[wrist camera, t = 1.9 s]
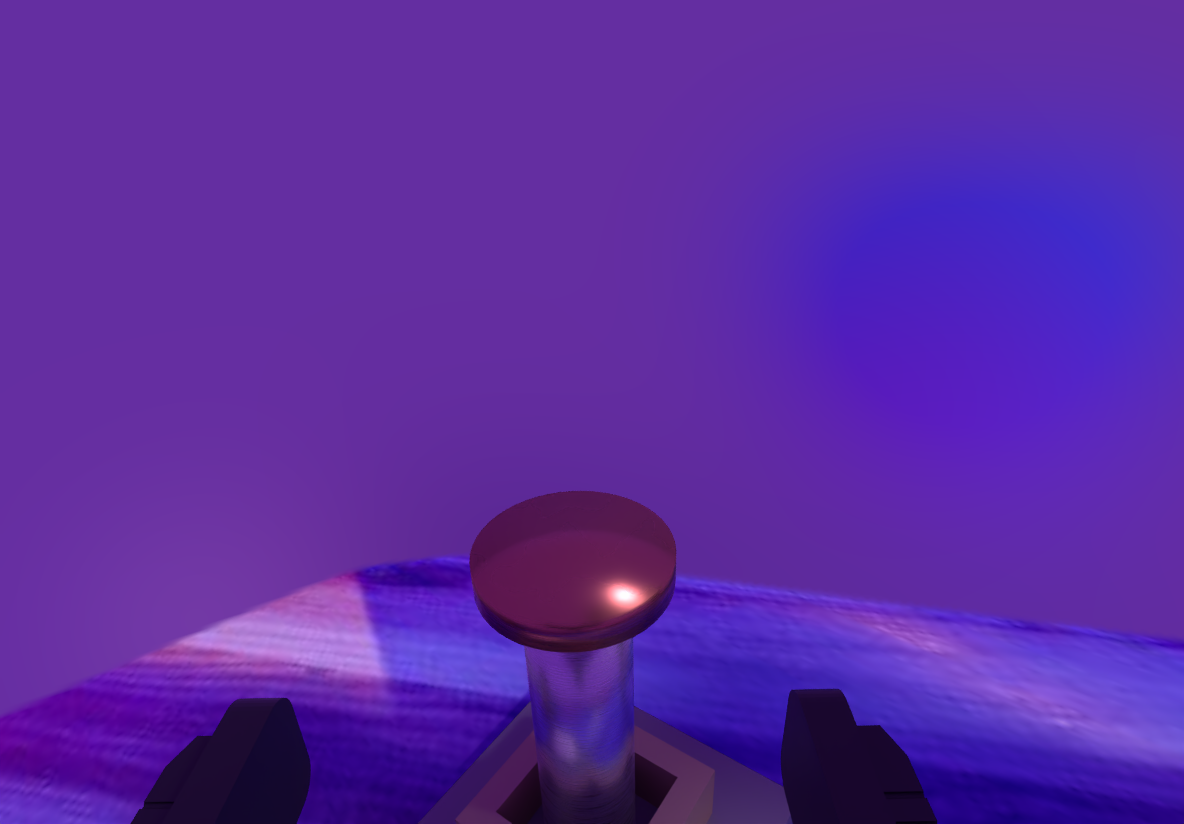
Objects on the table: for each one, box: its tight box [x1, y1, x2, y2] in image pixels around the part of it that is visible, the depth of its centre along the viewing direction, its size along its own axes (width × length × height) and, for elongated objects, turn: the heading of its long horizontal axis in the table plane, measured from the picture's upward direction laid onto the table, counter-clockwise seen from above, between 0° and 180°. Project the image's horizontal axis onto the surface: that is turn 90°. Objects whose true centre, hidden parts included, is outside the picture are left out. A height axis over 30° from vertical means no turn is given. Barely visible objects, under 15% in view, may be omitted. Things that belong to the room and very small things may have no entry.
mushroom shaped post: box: [469, 491, 676, 824], centre depth 27 cm, size 7×7×16 cm
